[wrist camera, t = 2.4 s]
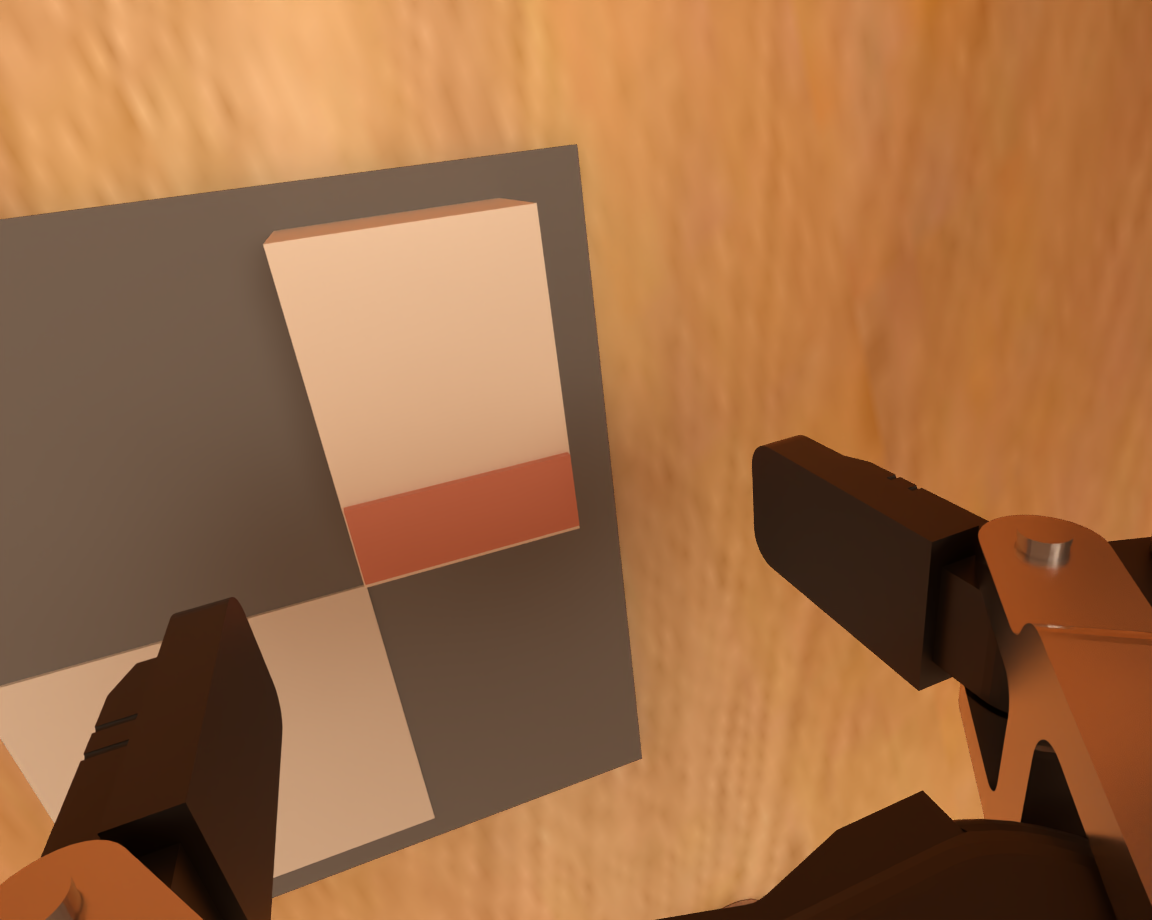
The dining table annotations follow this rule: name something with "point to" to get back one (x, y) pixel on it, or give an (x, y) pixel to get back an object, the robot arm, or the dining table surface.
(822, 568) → the robot arm
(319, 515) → the mat
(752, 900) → the house plant
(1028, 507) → the dining table surface
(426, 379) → the card box
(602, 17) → the dining table surface
